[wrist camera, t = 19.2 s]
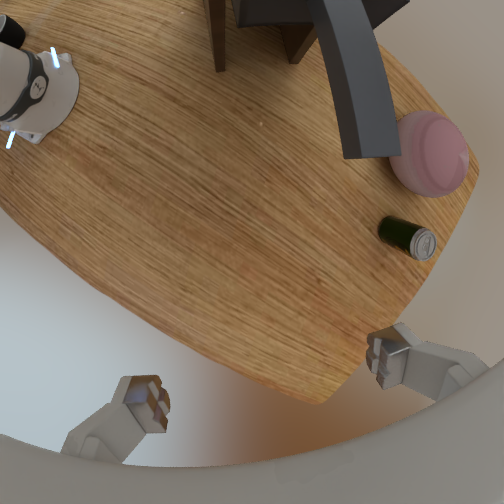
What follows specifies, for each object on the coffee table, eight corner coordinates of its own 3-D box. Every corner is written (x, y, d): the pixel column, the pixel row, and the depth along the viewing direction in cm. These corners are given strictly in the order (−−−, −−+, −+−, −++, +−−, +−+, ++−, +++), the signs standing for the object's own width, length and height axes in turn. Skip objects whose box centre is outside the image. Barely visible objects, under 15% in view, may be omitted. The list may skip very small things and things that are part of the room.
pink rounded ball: (428, 197, 47) (480, 210, 33) (369, 185, 45) (419, 195, 31) (433, 127, 43) (484, 123, 28) (374, 107, 41) (424, 91, 27)
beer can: (380, 213, 47) (418, 226, 36) (401, 218, 48) (441, 232, 36) (374, 240, 48) (409, 260, 37) (395, 244, 49) (432, 264, 38)
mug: (22, 23, 26) (-1, 10, 16) (34, 32, 28) (10, 18, 19) (-8, 63, 28) (-32, 56, 18) (3, 76, 30) (-24, 68, 21)
